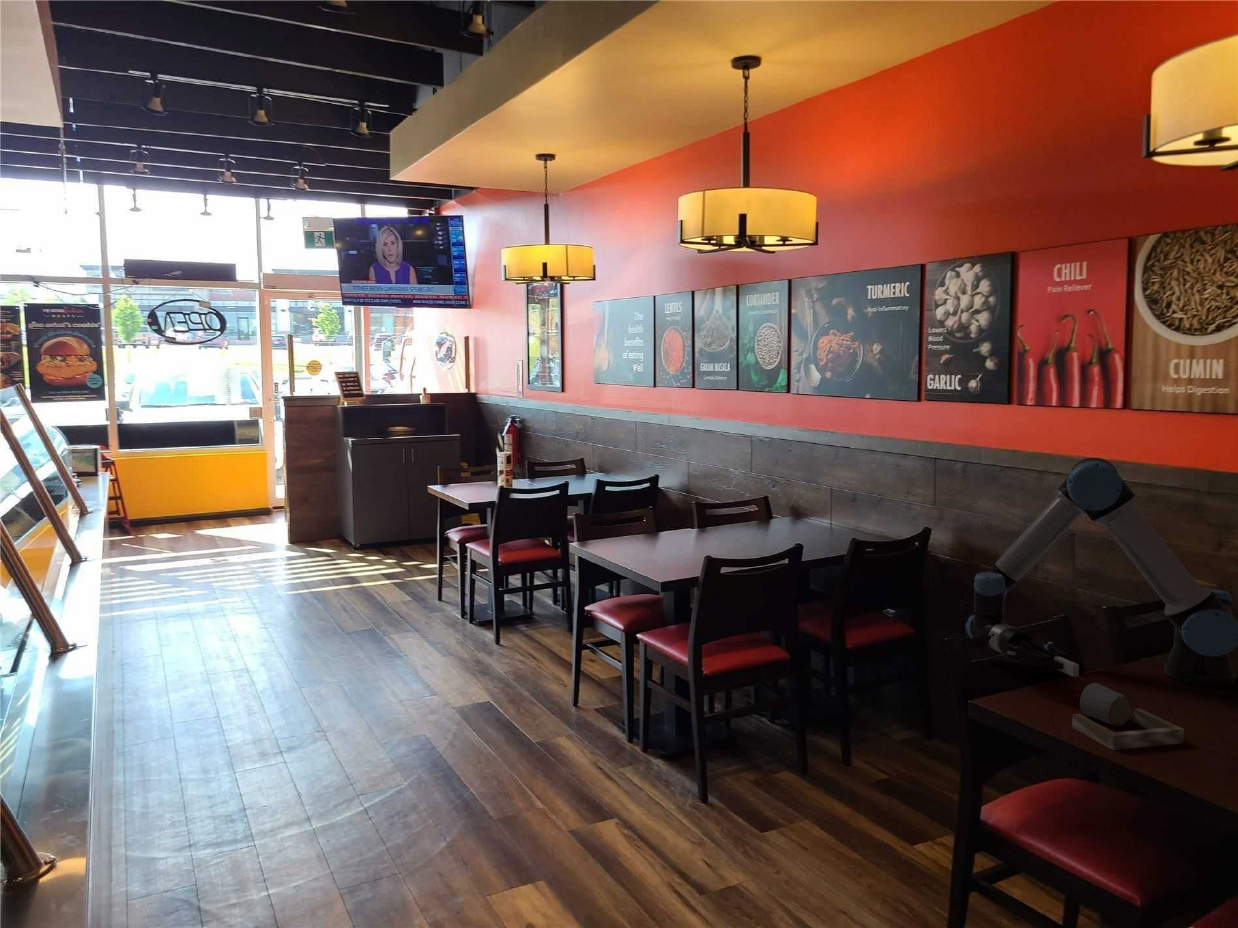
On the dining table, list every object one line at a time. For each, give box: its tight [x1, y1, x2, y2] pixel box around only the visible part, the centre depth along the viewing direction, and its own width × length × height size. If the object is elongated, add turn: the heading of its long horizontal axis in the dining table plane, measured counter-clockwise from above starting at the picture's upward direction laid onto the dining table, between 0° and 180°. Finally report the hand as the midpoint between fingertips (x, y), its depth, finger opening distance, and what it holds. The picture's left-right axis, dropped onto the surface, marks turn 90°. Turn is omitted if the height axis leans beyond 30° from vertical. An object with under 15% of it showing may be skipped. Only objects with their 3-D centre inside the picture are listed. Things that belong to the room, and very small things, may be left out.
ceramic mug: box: [1079, 682, 1134, 727], centre depth 196 cm, size 11×8×8 cm
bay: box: [1071, 707, 1185, 751], centre depth 188 cm, size 17×12×3 cm
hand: (1075, 670), depth 203 cm, fingers closed
